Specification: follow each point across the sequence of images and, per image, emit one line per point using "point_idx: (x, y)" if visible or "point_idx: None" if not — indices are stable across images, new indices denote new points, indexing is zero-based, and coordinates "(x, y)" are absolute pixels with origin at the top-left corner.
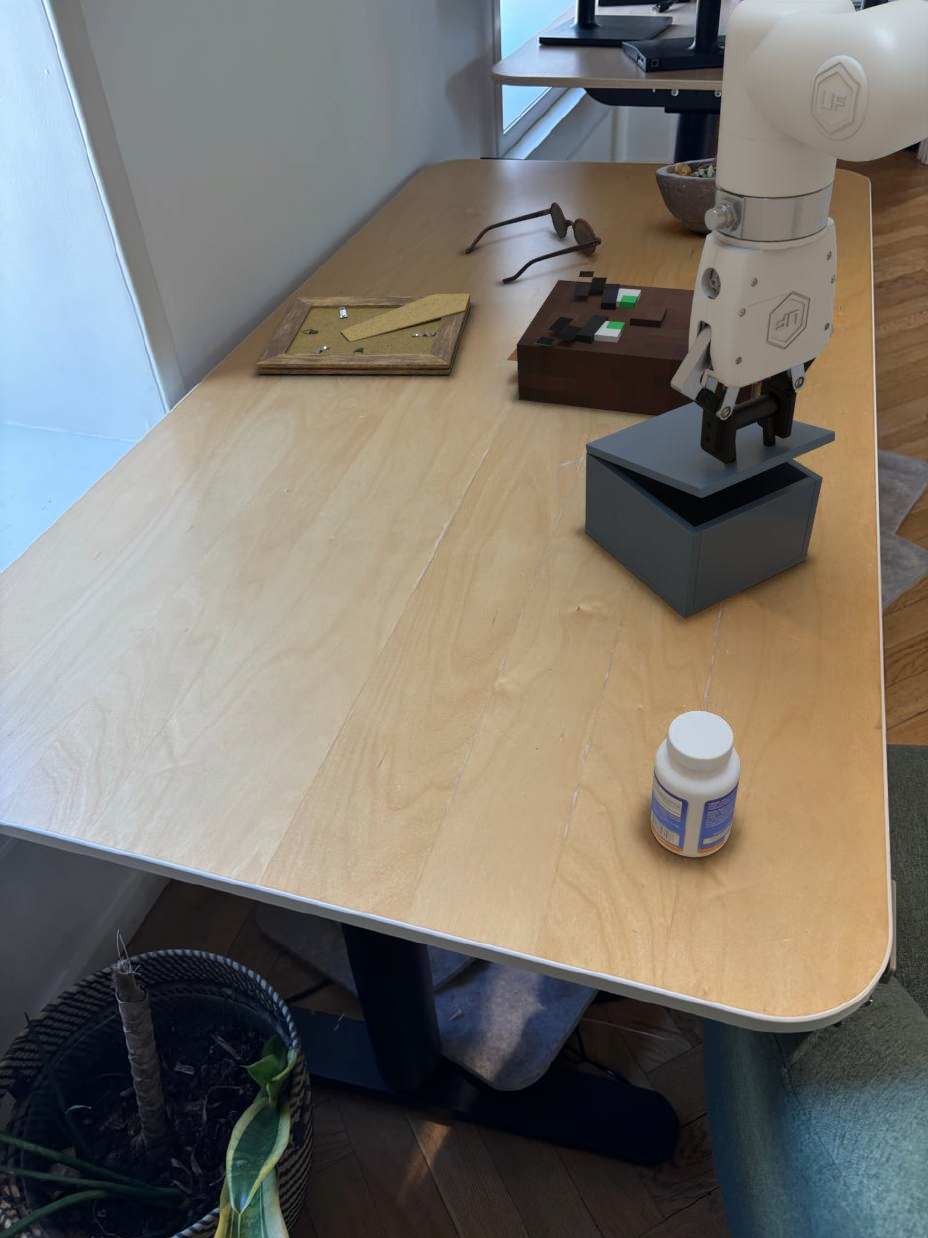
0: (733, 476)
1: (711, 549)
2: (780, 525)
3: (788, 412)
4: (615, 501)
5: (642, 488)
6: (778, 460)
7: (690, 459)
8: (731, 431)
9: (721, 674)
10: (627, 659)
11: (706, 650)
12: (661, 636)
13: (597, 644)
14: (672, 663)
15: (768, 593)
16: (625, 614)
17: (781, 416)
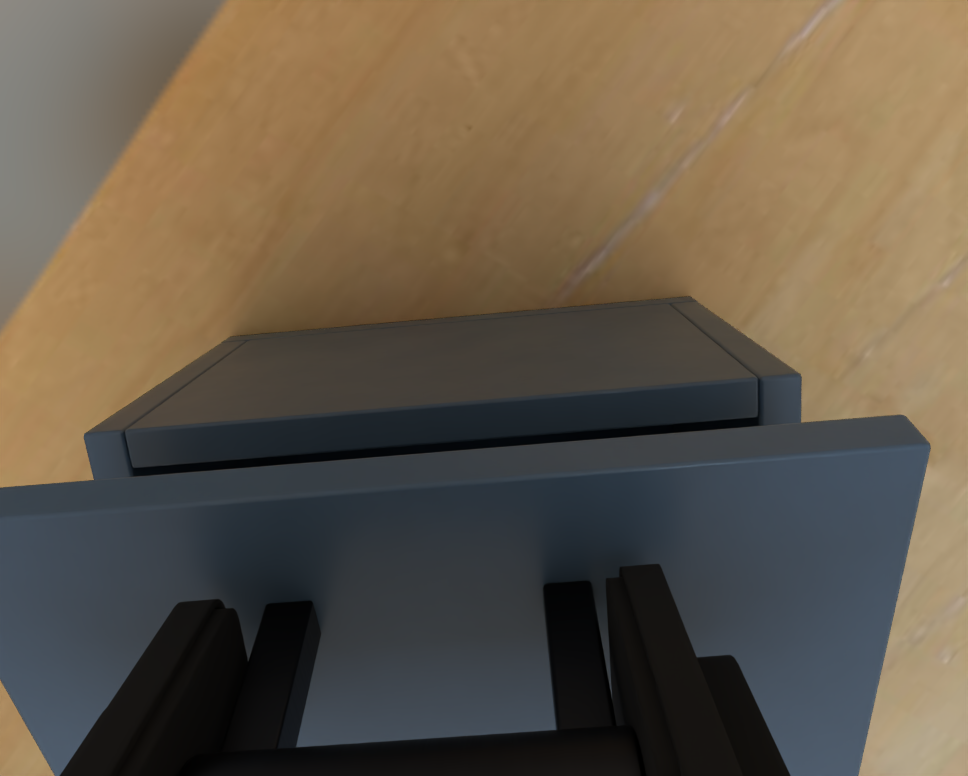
0: (686, 457)
1: (663, 353)
2: (325, 373)
3: (151, 715)
4: None
5: None
6: (351, 472)
7: None
8: (706, 699)
9: (752, 41)
10: (934, 231)
11: (723, 151)
12: (793, 265)
13: (962, 324)
14: (840, 153)
15: (415, 269)
16: (818, 391)
17: (193, 718)
